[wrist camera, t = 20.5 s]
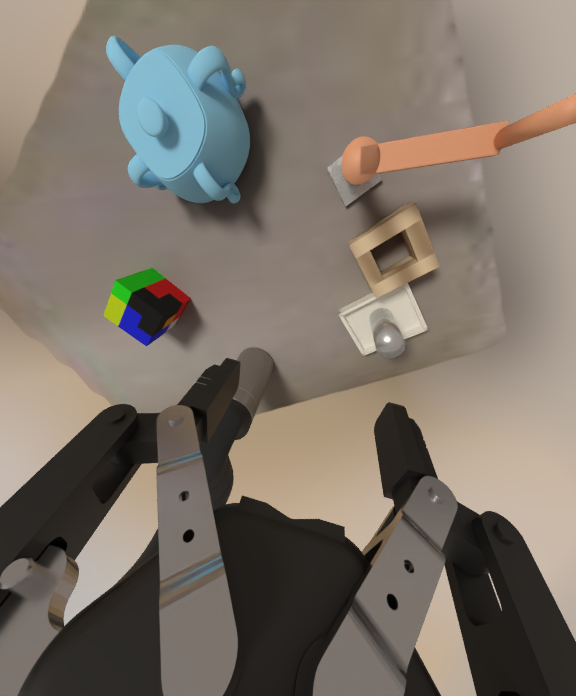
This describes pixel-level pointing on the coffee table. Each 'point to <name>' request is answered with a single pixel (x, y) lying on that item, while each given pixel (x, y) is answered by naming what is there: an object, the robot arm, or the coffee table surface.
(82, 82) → the coffee table surface
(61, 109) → the coffee table surface
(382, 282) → the block
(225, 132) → the decorative pot
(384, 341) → the silver metal cylinder
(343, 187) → the pivot post
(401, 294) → the tray
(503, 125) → the bar
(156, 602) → the robot arm
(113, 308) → the puzzle toy
